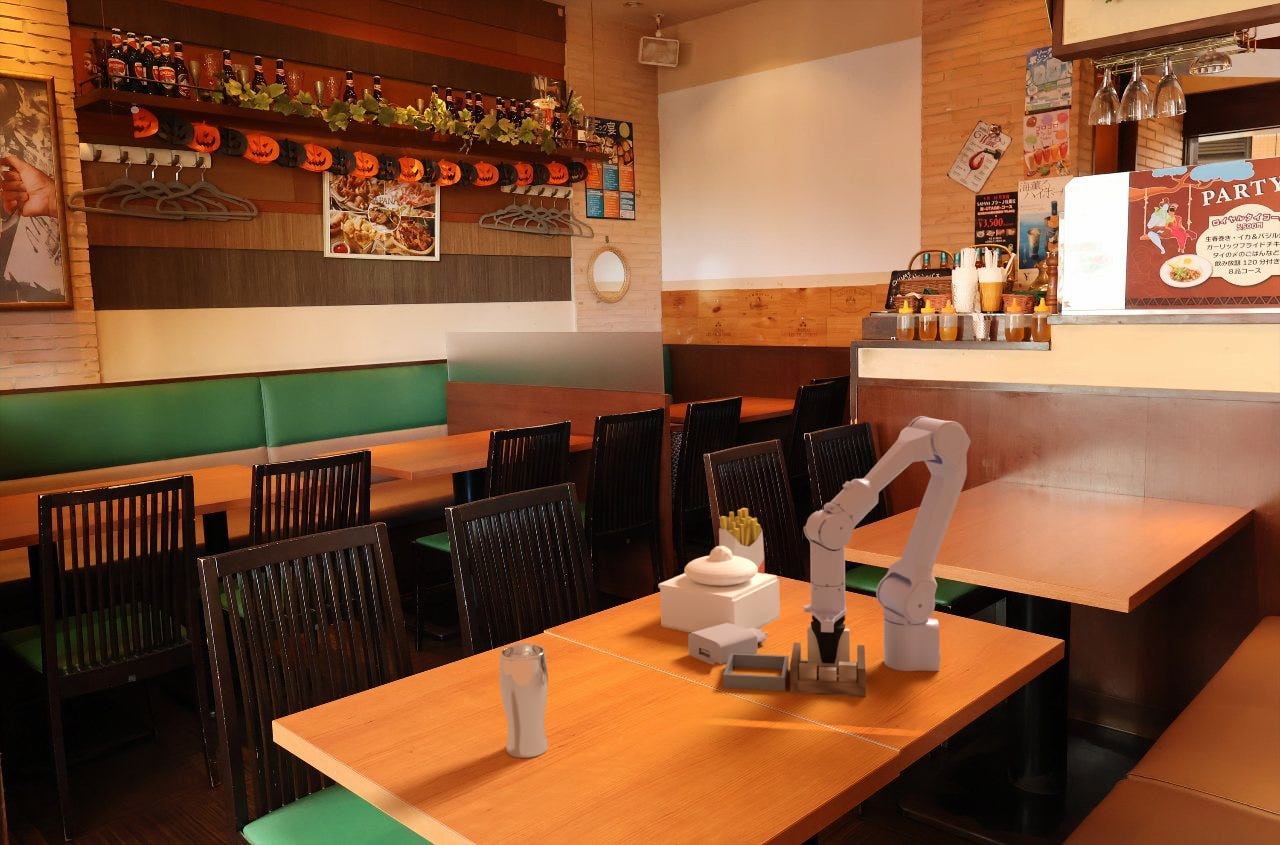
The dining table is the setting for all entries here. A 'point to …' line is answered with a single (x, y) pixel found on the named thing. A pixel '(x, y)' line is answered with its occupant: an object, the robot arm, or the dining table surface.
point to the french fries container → (743, 537)
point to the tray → (756, 680)
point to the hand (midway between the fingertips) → (828, 659)
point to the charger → (723, 642)
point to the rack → (827, 686)
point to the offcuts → (829, 672)
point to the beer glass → (524, 698)
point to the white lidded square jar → (719, 594)
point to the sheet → (842, 650)
